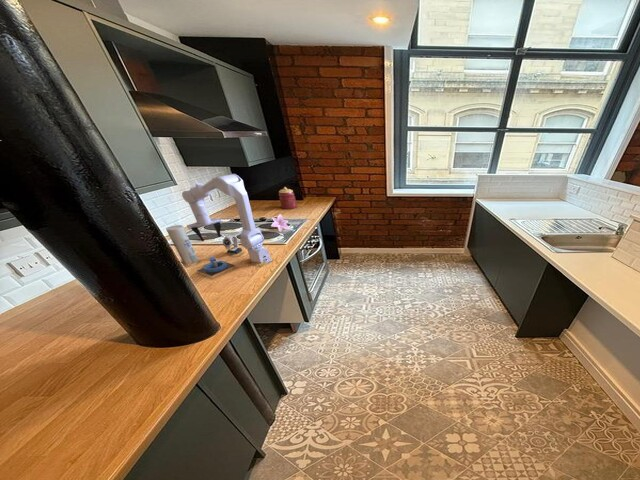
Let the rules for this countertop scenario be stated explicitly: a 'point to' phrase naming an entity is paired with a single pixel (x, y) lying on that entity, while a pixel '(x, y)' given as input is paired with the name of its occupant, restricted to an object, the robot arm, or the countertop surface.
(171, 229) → the spray can
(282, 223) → the lily
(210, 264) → the ring
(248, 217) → the robot arm
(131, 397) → the countertop surface
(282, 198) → the kitchen canister
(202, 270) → the platform
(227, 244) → the watch
